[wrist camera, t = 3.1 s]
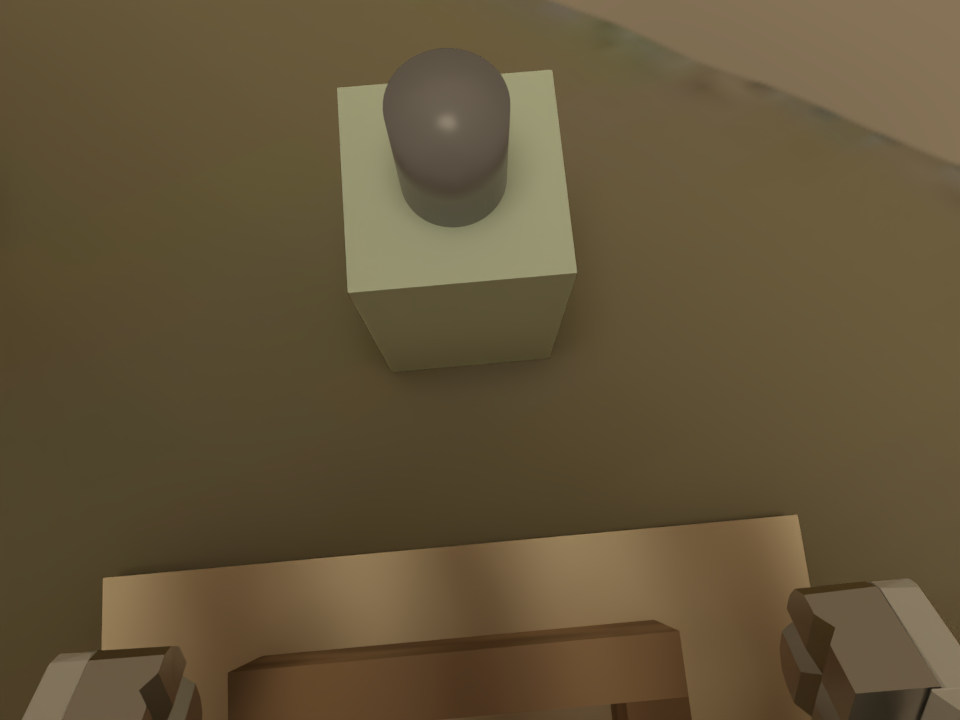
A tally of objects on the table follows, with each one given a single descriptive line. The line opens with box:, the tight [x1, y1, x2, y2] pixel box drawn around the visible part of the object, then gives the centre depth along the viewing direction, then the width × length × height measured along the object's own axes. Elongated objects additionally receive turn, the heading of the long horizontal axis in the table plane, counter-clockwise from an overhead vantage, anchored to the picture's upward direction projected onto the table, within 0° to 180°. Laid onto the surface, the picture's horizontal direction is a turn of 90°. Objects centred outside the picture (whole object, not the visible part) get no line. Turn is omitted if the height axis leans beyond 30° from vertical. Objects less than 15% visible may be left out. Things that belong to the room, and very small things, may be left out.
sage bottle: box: [337, 48, 577, 372], centre depth 20 cm, size 5×5×11 cm
